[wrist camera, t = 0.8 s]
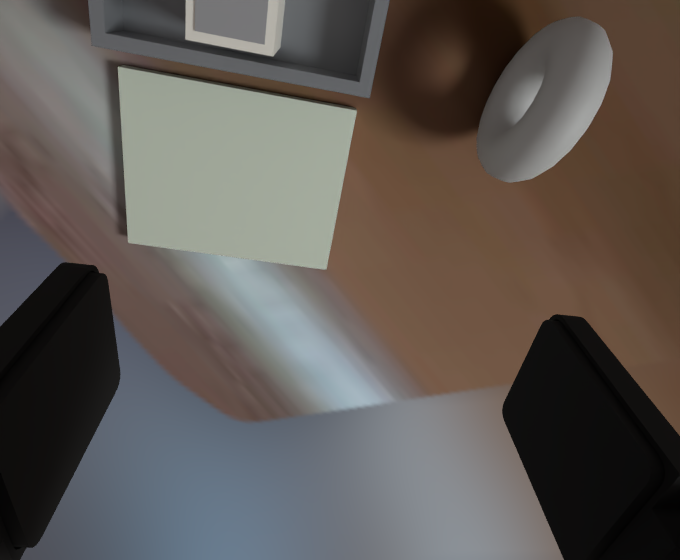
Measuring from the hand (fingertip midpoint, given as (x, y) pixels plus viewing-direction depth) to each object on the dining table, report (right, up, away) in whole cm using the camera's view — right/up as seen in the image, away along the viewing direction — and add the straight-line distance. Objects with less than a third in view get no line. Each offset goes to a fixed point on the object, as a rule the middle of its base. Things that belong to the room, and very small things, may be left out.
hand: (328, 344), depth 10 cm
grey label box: (-5, +19, +18) cm, 27 cm away
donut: (+12, +15, +23) cm, 30 cm away
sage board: (-8, +9, +25) cm, 28 cm away
